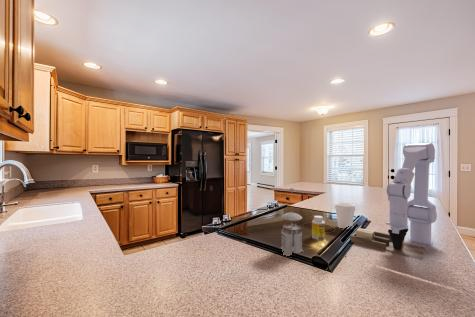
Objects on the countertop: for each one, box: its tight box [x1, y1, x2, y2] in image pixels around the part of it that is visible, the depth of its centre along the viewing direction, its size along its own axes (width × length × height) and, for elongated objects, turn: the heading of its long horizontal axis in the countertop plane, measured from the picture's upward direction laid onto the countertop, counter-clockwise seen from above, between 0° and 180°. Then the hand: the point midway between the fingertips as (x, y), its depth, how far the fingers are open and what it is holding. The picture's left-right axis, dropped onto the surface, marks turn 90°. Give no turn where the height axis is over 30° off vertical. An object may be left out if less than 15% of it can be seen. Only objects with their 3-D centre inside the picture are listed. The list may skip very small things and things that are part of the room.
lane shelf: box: [349, 231, 426, 261], centre depth 90 cm, size 15×24×3 cm, turn 46°
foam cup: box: [334, 202, 356, 229], centre depth 113 cm, size 10×9×13 cm
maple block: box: [355, 227, 405, 250], centre depth 89 cm, size 4×16×5 cm, turn 46°
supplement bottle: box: [311, 215, 326, 241], centre depth 98 cm, size 6×6×10 cm
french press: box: [280, 187, 303, 257], centre depth 83 cm, size 10×12×25 cm
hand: (398, 247), depth 85 cm, fingers open, 4 cm apart
